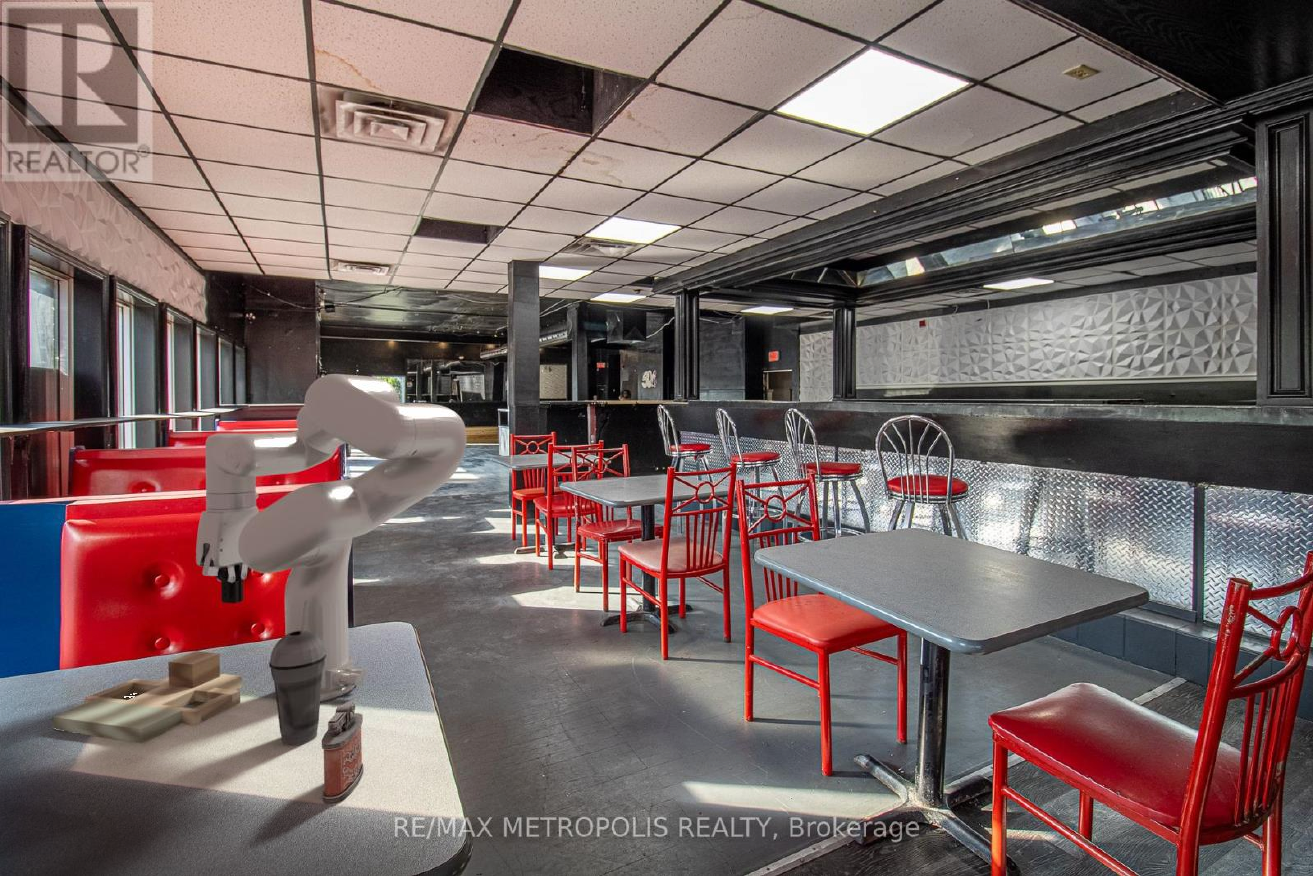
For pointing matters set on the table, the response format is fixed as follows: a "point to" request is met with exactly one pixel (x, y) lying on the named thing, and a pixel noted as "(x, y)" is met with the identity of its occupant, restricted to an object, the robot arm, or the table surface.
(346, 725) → the lighter
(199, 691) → the board
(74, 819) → the table surface
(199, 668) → the walnut block
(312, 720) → the beverage cup
